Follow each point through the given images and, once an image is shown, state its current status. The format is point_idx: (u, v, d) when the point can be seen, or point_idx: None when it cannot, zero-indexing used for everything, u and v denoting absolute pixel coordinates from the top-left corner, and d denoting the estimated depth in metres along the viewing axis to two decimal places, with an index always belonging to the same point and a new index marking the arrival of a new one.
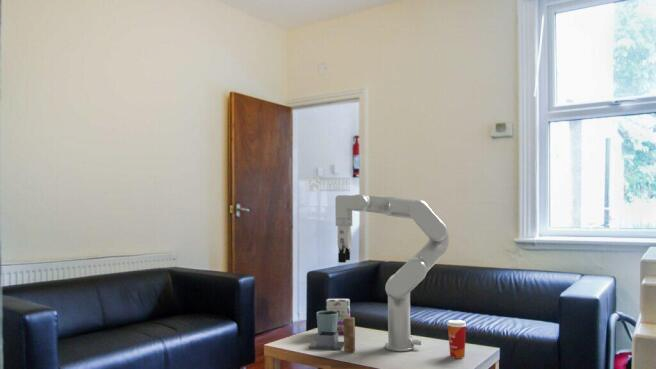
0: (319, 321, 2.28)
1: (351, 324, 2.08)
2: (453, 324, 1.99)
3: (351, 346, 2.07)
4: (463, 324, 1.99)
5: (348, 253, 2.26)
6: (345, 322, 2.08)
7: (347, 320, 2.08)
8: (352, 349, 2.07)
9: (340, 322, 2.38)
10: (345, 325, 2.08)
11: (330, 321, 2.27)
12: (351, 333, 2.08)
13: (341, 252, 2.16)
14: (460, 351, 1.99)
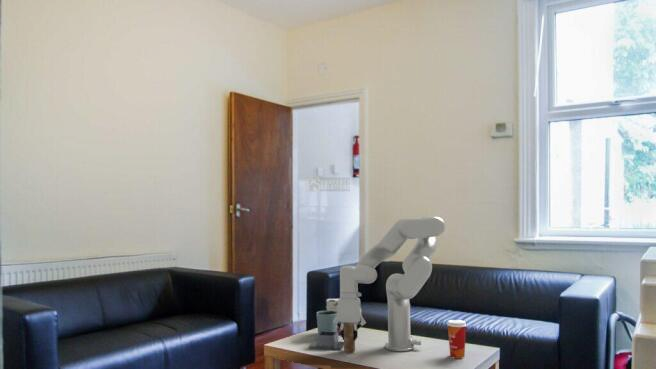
0: (319, 321, 2.28)
1: (351, 324, 2.08)
2: (453, 324, 1.99)
3: (351, 346, 2.07)
4: (463, 324, 1.99)
5: None
6: (345, 322, 2.08)
7: None
8: (352, 349, 2.07)
9: None
10: (345, 325, 2.08)
11: (330, 321, 2.27)
12: (351, 333, 2.08)
13: None
14: (460, 351, 1.99)
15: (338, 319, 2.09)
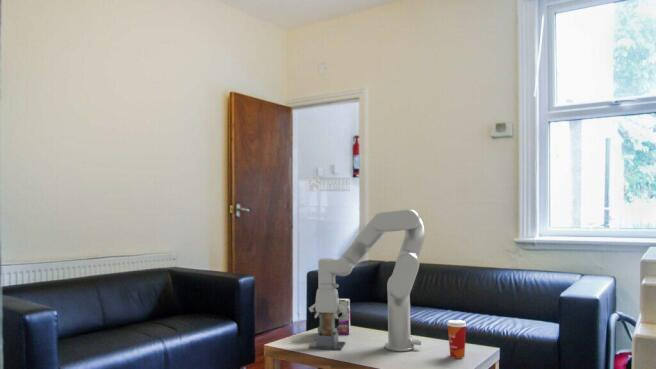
0: None
1: (329, 317, 2.16)
2: (453, 324, 1.99)
3: None
4: (463, 324, 1.99)
5: (319, 319, 2.20)
6: (323, 315, 2.17)
7: (325, 314, 2.17)
8: None
9: (340, 322, 2.38)
10: (323, 318, 2.17)
11: None
12: (329, 326, 2.16)
13: (339, 317, 2.17)
14: (460, 351, 1.99)
15: (316, 309, 2.18)
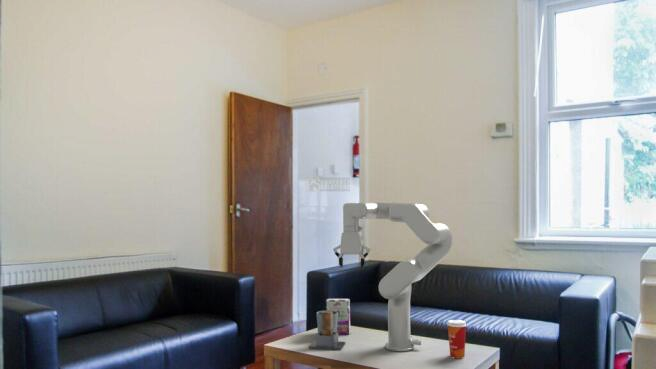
0: (319, 321, 2.28)
1: (329, 317, 2.16)
2: (453, 324, 1.99)
3: None
4: (463, 324, 1.99)
5: (342, 259, 2.31)
6: (323, 315, 2.17)
7: (325, 314, 2.17)
8: None
9: (340, 322, 2.38)
10: (323, 318, 2.17)
11: None
12: (329, 326, 2.16)
13: None
14: (460, 351, 1.99)
15: (341, 251, 2.28)
